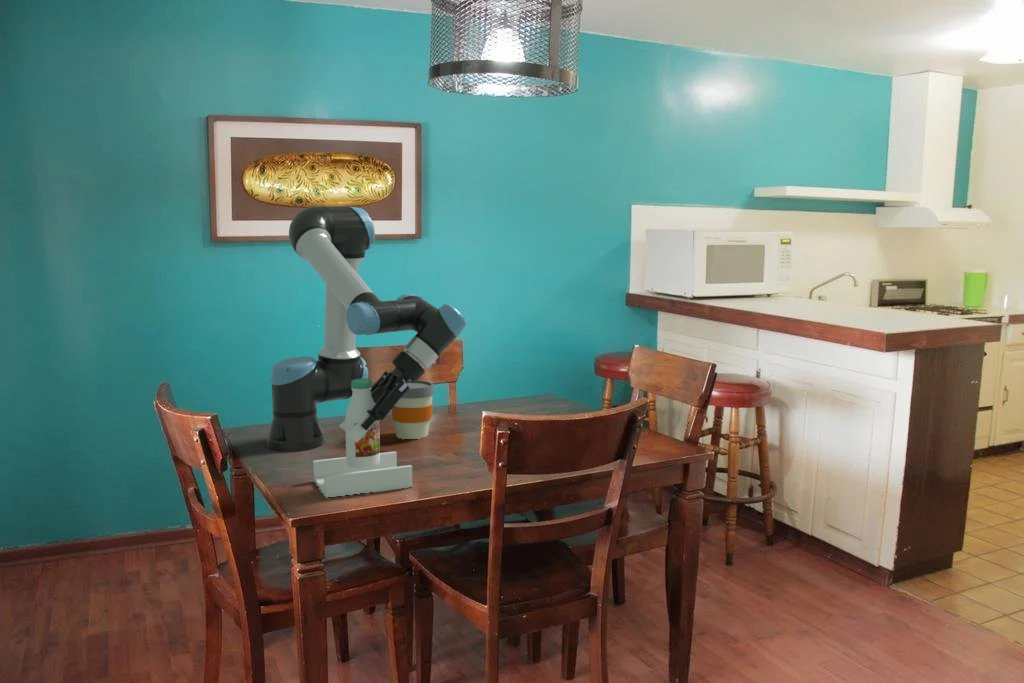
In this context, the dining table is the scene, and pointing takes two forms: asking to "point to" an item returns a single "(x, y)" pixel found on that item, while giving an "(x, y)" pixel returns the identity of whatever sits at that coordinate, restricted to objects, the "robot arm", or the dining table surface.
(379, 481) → the duct channel
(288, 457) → the dining table surface
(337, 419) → the dining table surface
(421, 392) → the reusable coffee cup
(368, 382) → the milk bottle
